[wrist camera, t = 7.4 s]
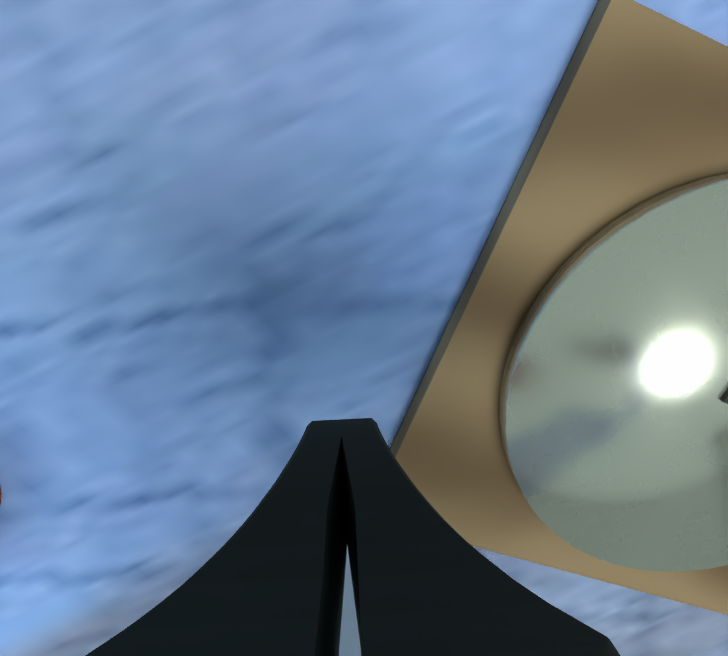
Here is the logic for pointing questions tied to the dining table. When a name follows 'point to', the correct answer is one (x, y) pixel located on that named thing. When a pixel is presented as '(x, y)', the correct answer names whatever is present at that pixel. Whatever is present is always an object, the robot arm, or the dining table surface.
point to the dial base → (549, 253)
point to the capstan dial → (630, 388)
